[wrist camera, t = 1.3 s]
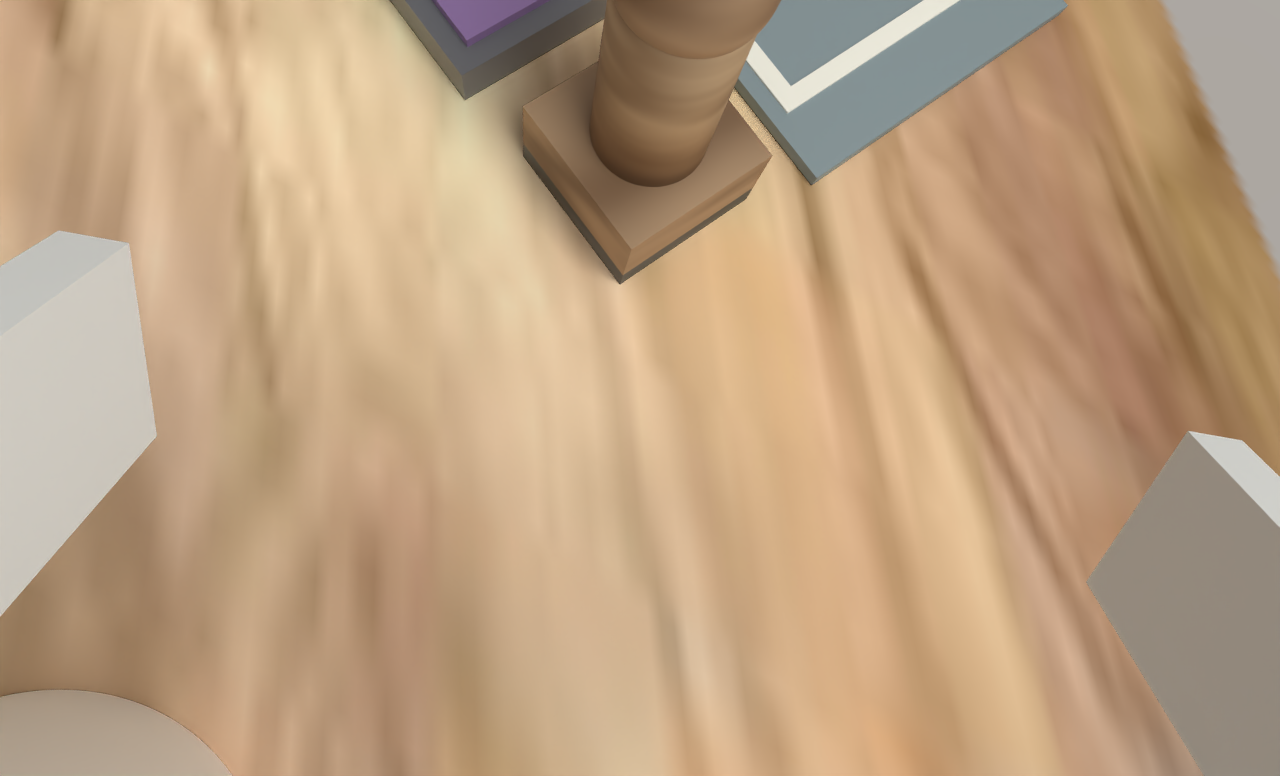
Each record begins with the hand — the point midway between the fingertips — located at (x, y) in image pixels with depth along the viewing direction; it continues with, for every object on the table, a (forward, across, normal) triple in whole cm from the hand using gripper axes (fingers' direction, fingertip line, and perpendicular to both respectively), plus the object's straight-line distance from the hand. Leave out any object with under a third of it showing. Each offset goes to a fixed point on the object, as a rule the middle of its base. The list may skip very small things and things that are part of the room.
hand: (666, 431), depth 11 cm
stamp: (+22, 0, -4) cm, 22 cm away
